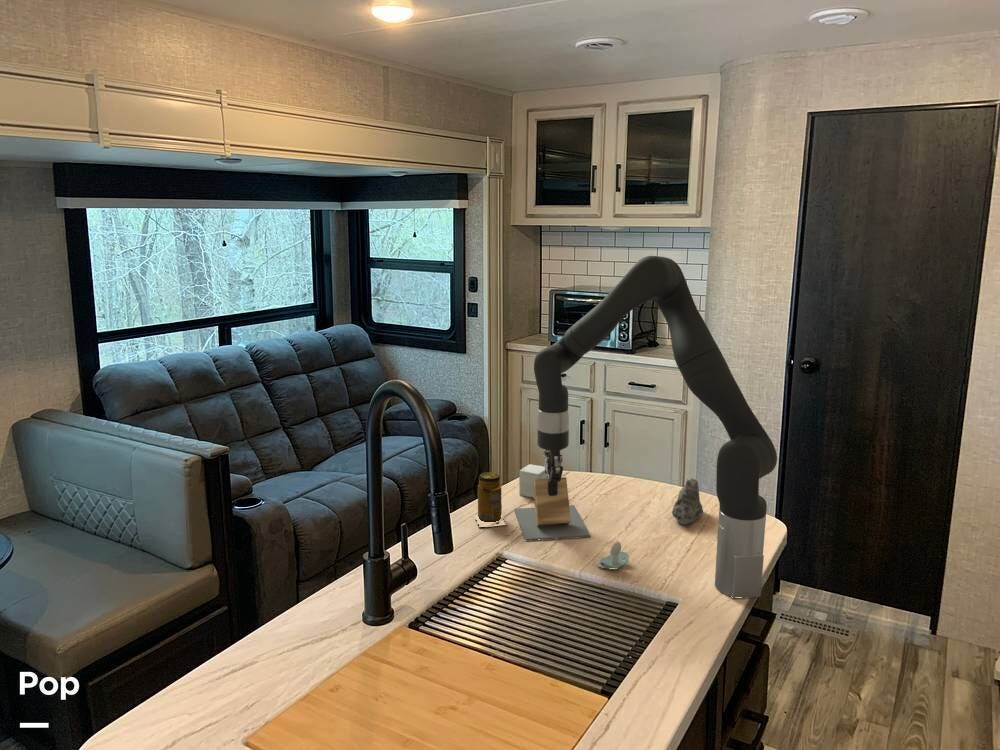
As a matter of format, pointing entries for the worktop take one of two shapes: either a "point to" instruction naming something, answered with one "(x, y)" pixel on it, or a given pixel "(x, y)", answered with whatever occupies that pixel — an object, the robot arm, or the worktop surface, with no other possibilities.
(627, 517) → the worktop surface
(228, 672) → the worktop surface
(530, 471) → the product box
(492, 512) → the condiment
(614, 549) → the pacifier
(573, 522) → the mat
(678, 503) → the mineral rock
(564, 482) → the block
